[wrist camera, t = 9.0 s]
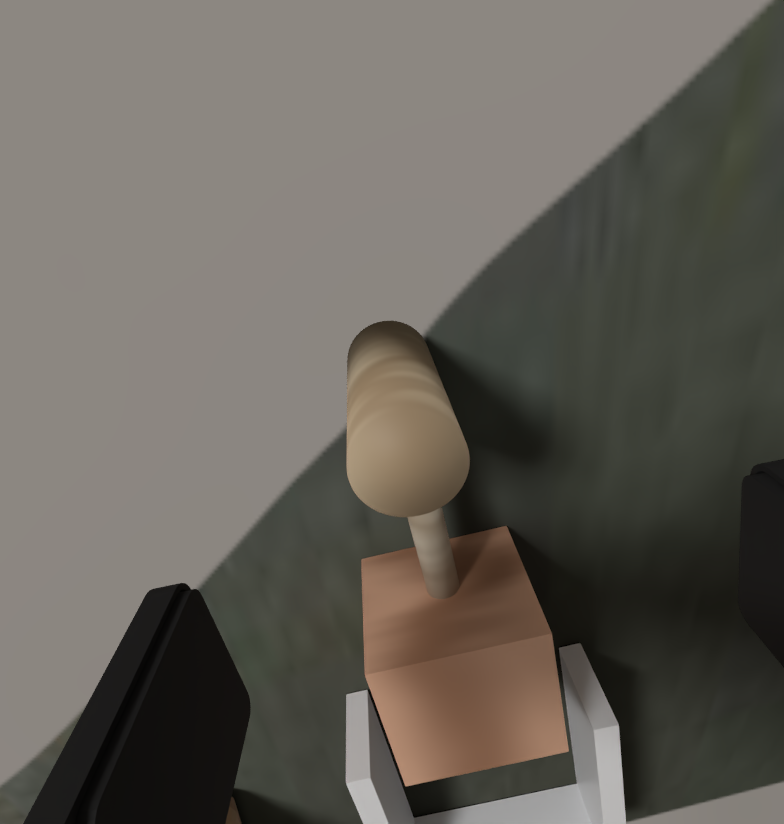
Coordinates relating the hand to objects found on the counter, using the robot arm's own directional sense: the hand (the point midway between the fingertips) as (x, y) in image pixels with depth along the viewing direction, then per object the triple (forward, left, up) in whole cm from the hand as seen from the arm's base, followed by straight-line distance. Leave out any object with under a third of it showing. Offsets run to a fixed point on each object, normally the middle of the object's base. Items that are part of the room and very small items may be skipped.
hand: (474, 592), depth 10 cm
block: (+1, +6, -11) cm, 12 cm away
